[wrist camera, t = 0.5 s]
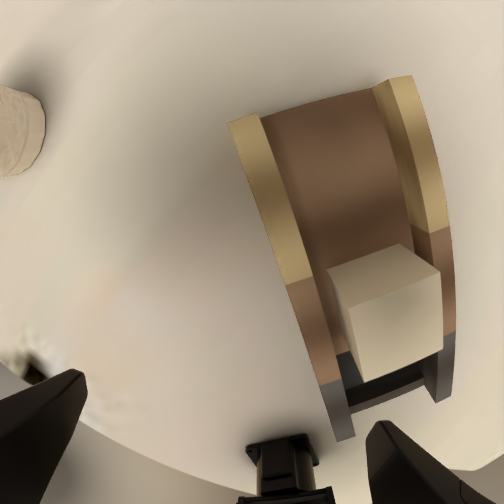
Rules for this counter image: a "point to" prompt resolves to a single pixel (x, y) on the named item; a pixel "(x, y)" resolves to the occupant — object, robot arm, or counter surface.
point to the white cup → (19, 131)
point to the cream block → (388, 309)
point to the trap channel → (351, 223)
